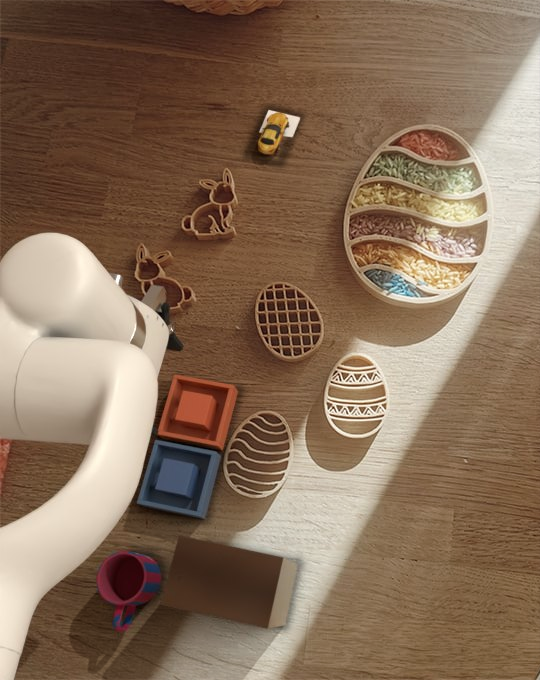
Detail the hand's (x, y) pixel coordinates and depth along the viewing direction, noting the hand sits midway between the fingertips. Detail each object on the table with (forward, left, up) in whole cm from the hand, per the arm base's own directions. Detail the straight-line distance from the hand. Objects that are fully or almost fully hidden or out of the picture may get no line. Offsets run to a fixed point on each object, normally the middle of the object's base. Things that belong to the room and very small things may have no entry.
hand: (157, 387), depth 79 cm
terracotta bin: (+4, +4, -30) cm, 31 cm away
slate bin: (-6, +4, -30) cm, 31 cm away
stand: (-18, -9, -30) cm, 36 cm away
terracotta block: (+4, +4, -30) cm, 30 cm away
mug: (-22, +6, -31) cm, 38 cm away
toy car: (+54, +4, -31) cm, 62 cm away
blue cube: (-6, +4, -30) cm, 31 cm away
